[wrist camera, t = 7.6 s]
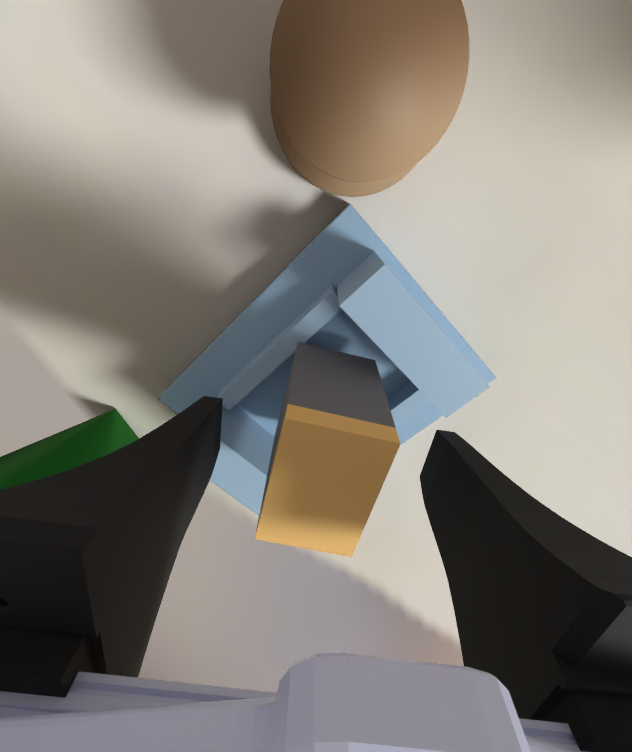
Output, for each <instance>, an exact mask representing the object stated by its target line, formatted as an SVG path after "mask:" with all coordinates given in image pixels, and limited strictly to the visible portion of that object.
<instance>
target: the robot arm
mask: <svg viewBox="0 0 632 752" xmlns="http://www.w3.org/2000/svg"><path fill="white" fill-rule="evenodd" d="M222 404H223V398H216V397H209V396H203V397H202V398H200V399H199V400H197V401H196V402H194V403H193V404H192V405H190V406H189V407H188V408H186V409H185V410H183V411H182V412H180V413H179V414H178V415H176V416H175V417H173V418H172V419H170V420H169V421H167V422H166V423H164V424H163V425H161V426H160V427H158V428H156V429H155V430H153V431H151V432H150V433H148V434H146V435H145V436H143V437H141V438H140V439H138V440H136V441H134V442H132V443H130V444H128V445H126V446H124V447H122V448H120V449H118V450H116V451H114V452H112V453H110V454H107V455H105V456H103V457H100V458H98V459H95V460H93V461H90V462H88V463H85V464H83V465H80V466H78V467H75V468H72V469H70V470H67V471H64V472H61V473H58V474H55V475H52V476H48V477H45V478H42V479H39V480H35V481H32V482H28V483H25V484H21V485H17V486H13V487H9V488H5V489H1V490H0V752H632V557H630V556H628V555H626V554H624V553H622V552H620V551H618V550H616V549H615V548H613V547H611V546H609V545H607V544H606V543H604V542H602V541H600V540H598V539H597V538H595V537H593V536H591V535H590V534H588V533H586V532H585V531H583V530H581V529H580V528H578V527H576V526H575V525H573V524H571V523H570V522H568V521H567V520H565V519H564V518H562V517H561V516H559V515H558V514H556V513H555V512H553V511H552V510H550V509H549V508H547V507H546V506H544V505H543V504H542V503H540V502H539V501H537V500H536V499H535V498H533V497H532V496H531V495H529V494H528V493H527V492H525V491H524V490H523V489H522V488H520V487H519V486H518V485H516V484H515V483H514V482H513V481H511V480H510V479H509V478H508V477H507V476H505V475H504V474H503V473H502V472H501V471H499V470H498V469H497V468H496V467H495V466H494V465H492V464H491V463H490V462H489V461H488V460H487V459H486V458H484V457H483V456H482V455H481V454H480V453H479V452H478V451H476V450H475V449H474V448H473V447H472V446H471V445H470V444H468V443H467V442H466V441H465V440H464V439H463V438H461V437H460V436H459V435H457V434H456V433H455V432H449V431H442V430H437V431H436V433H435V436H434V439H433V442H432V444H431V447H430V450H429V452H428V455H427V458H426V461H425V463H424V466H423V469H422V472H421V474H420V481H421V488H422V494H423V499H424V504H425V508H426V511H427V514H428V517H429V521H430V524H431V527H432V530H433V533H434V536H435V539H436V542H437V545H438V549H439V552H440V555H441V558H442V561H443V564H444V567H445V571H446V575H447V578H448V582H449V587H450V592H451V597H452V601H453V606H454V611H455V616H456V622H457V627H458V633H459V638H460V644H461V650H462V656H463V662H464V666H456V665H447V664H438V663H429V662H420V661H412V660H403V659H394V658H384V657H376V656H367V655H358V654H349V653H326V654H316V655H313V656H310V657H308V658H305V659H303V660H300V661H297V662H296V663H294V664H293V665H292V666H291V667H290V668H289V670H288V671H287V672H286V674H285V675H284V676H283V677H282V679H281V680H280V683H279V687H278V691H277V692H267V691H258V690H248V689H239V688H229V687H219V686H211V685H201V684H192V683H182V682H172V681H164V680H154V679H144V678H138V675H139V672H140V668H141V665H142V662H143V658H144V655H145V652H146V648H147V645H148V642H149V639H150V636H151V632H152V629H153V626H154V622H155V620H156V616H157V613H158V610H159V607H160V604H161V601H162V598H163V594H164V592H165V588H166V586H167V582H168V580H169V576H170V573H171V571H172V567H173V565H174V562H175V559H176V556H177V553H178V550H179V547H180V545H181V542H182V540H183V537H184V535H185V532H186V530H187V528H188V526H189V524H190V522H191V519H192V517H193V515H194V513H195V511H196V509H197V506H198V504H199V502H200V500H201V498H202V496H203V494H204V491H205V489H206V487H207V485H208V483H209V480H210V478H211V476H212V473H213V470H214V467H215V464H216V460H217V457H218V454H219V450H220V441H221V422H222Z"/></svg>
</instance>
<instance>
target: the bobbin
mask: <svg viewBox="0 0 632 752" xmlns="http://www.w3.org/2000/svg"><path fill="white" fill-rule="evenodd" d="M468 63H469V35H468V25H467V20H466V16H465V11H464V7H463V4H462V1H461V0H284V1H283V3H282V6H281V8H280V11H279V14H278V17H277V20H276V24H275V28H274V32H273V36H272V44H271V52H270V76H271V110H272V117H273V123H274V127H275V131H276V134H277V137H278V140H279V142H280V144H281V147H282V149H283V151H284V153H285V154H286V156H287V158H288V160H289V161H290V162H291V164H292V165H293V166H294V168H295V169H296V170H297V171H298V172H299V173H300V174H301V175H302V176H303V177H304V178H305V179H306V180H308V181H309V182H310V183H311V184H313V185H315V186H316V187H318V188H320V189H322V190H324V191H327V192H329V193H332V194H336V195H340V196H349V197H356V196H365V195H370V194H374V193H377V192H379V191H382V190H384V189H386V188H388V187H390V186H392V185H393V184H395V183H396V182H398V181H399V180H401V179H402V178H403V177H404V176H405V175H406V174H408V173H409V172H410V171H411V169H412V168H413V167H414V166H415V165H416V164H417V163H418V162H419V161H420V160H421V159H422V158H423V157H424V156H426V155H427V154H428V153H429V152H430V151H431V149H432V148H433V147H434V146H435V145H436V144H437V143H438V141H439V140H440V139H441V137H442V136H443V134H444V133H445V132H446V130H447V128H448V126H449V125H450V123H451V121H452V119H453V117H454V115H455V113H456V110H457V108H458V106H459V103H460V100H461V97H462V94H463V91H464V87H465V82H466V77H467V72H468Z"/></svg>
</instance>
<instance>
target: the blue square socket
mask: <svg viewBox="0 0 632 752" xmlns="http://www.w3.org/2000/svg"><path fill="white" fill-rule="evenodd" d="M298 342H302V343H306V344H310V345H314V346H318V347H323V348H327V349H331V350H335V351H339V352H343V353H348V354H352V355H356V356H360V357H364V358H369V359H373V360H375V361H376V364H377V368H378V371H379V374H380V377H381V381H382V384H383V387H384V391H385V394H386V397H387V401H388V404H389V407H390V410H391V414H392V417H393V420H394V424H395V427H396V430H397V433H398V437H399V440H400V443H401V444H403V443H404V442H406V441H407V440H408V439H410V438H411V437H413V436H414V435H416V434H417V433H418V432H420V431H421V430H423V429H424V428H425V427H427V426H428V425H430V424H431V423H433V422H434V421H435V420H437V419H438V418H440V417H441V416H443V415H444V416H445V417H448V416H449V415H451V414H452V413H454V412H455V411H456V410H458V409H459V408H461V407H462V406H464V405H465V404H466V403H468V402H469V401H471V400H472V399H474V398H475V397H476V396H478V395H479V394H481V393H482V392H484V391H485V390H486V389H488V388H489V387H490V386H489V385H488V383H489V382H491V381H492V380H494V379H495V378H496V377H495V375H494V374H493V373H492V372H491V371H490V370H489V368H488V367H487V366H486V365H485V364H484V362H483V361H482V360H481V359H480V358H479V356H478V355H477V354H476V353H475V352H474V350H473V349H472V348H471V347H470V346H469V345H468V343H467V342H466V341H465V340H464V339H463V337H462V336H461V335H460V334H459V333H458V331H457V330H456V329H455V328H454V327H453V325H452V324H451V323H450V322H449V321H448V320H447V318H446V317H445V316H444V315H443V314H442V312H441V311H440V310H439V309H438V308H437V306H436V305H435V304H434V303H433V302H432V300H431V299H430V298H429V297H428V296H427V294H426V293H425V292H424V291H423V290H422V289H421V287H420V286H419V285H418V284H417V283H416V281H415V280H414V279H413V278H412V277H411V275H410V274H409V273H408V272H407V271H406V269H405V268H404V267H403V266H402V265H401V264H400V262H399V261H398V260H397V259H396V258H395V256H394V255H393V254H392V253H391V252H390V250H389V249H388V248H387V247H386V246H385V244H384V243H383V242H382V241H381V240H380V239H379V237H378V236H377V235H376V234H375V233H374V231H373V230H372V229H371V228H370V227H369V225H368V224H367V223H366V222H365V221H364V219H363V218H362V217H361V216H360V215H359V213H358V212H357V211H356V210H355V209H354V208H353V206H352V205H351V204H350V203H349V204H348V205H347V206H346V207H345V208H344V209H343V210H342V211H341V212H340V213H339V214H338V215H337V216H336V217H335V218H334V219H333V220H332V221H331V222H330V223H329V224H328V225H327V226H326V227H325V228H324V229H323V230H322V231H321V232H320V233H319V235H318V236H317V237H316V238H315V239H314V240H313V241H312V242H311V243H310V244H309V245H308V246H307V247H306V248H305V249H304V250H303V251H302V252H301V253H300V254H299V255H298V256H297V257H296V258H295V259H294V260H293V261H292V262H291V263H290V264H289V265H288V266H287V267H286V268H285V269H284V270H283V271H282V272H281V273H280V274H279V275H278V276H277V277H276V278H275V279H274V280H273V281H272V282H271V283H270V284H269V285H268V286H267V287H266V288H265V289H264V290H263V291H262V292H261V293H260V294H259V295H258V296H257V297H256V299H255V300H254V301H253V302H252V303H251V304H250V305H249V306H248V307H247V308H246V309H245V310H244V311H243V312H242V313H241V314H240V315H239V316H238V317H237V318H236V319H235V320H234V321H233V322H232V323H231V324H230V325H229V326H228V327H227V328H226V329H225V330H224V331H223V332H222V333H221V334H220V335H219V336H218V337H217V338H216V339H215V340H214V341H213V342H212V343H211V344H210V345H209V346H208V347H207V348H206V349H205V350H204V351H203V352H202V353H201V354H200V355H199V356H198V357H197V358H196V359H195V360H194V361H193V363H192V364H191V365H190V366H189V367H188V368H187V369H186V370H185V371H184V372H183V373H182V374H181V375H180V376H179V377H178V378H177V379H176V380H175V381H174V382H173V383H172V384H171V385H170V386H169V387H168V388H167V389H166V390H165V391H164V392H163V394H162V395H161V396H160V398H159V400H160V401H162V402H163V403H164V404H166V405H167V406H168V407H170V408H171V409H172V410H174V411H175V412H176V413H177V414H179V413H180V412H182V411H183V410H185V409H186V408H188V407H189V406H190V405H192V404H193V403H194V402H196V401H197V400H199V399H200V398H202V397H203V396H209V397H216V398H223V404H222V422H221V441H220V450H219V454H218V457H217V460H216V464H215V467H214V470H213V473H212V476H211V478H210V481H211V482H213V483H214V484H215V485H217V486H218V487H219V488H221V489H222V490H224V491H225V492H226V493H228V494H229V495H231V496H232V497H233V498H235V499H236V500H237V501H239V502H240V503H242V504H243V505H244V506H246V507H247V508H249V509H250V510H251V511H253V512H254V513H255V514H257V515H258V516H259V514H260V509H261V504H262V499H263V494H264V488H265V483H266V478H267V473H268V468H269V462H270V457H271V452H272V447H273V442H274V436H275V432H276V428H277V424H278V420H279V416H280V412H281V408H282V404H283V400H284V396H285V392H286V388H287V384H288V380H289V375H290V371H291V367H292V363H293V359H294V355H295V351H296V347H297V343H298ZM401 444H400V445H401Z"/></svg>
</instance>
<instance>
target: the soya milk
mask: <svg viewBox="0 0 632 752" xmlns="http://www.w3.org/2000/svg"><path fill="white" fill-rule="evenodd" d="M138 439H139V438H138V437H137V436H136V434H135V433H134V432H133V430H132V429H131V428H130V427H129V425H128V424H127V423H126V422H125V420H124V419H123V418H122V416H121V415H120V414H119V413H118V411H117V410H116V409H114V410H112V411H109V412H107V413H104V414H102V415H100V416H97V417H95V418H92V419H90V420H88V421H85V422H83V423H81V424H78V425H76V426H73V427H71V428H69V429H66V430H64V431H61V432H59V433H57V434H54V435H52V436H50V437H47V438H45V439H43V440H40V441H38V442H35V443H33V444H30V445H28V446H26V447H23V448H21V449H19V450H16V451H14V452H12V453H9V454H7V455H4V456H2V457H0V490H1V489H5V488H9V487H13V486H17V485H21V484H25V483H28V482H32V481H35V480H39V479H42V478H45V477H48V476H52V475H55V474H58V473H61V472H64V471H67V470H70V469H72V468H75V467H78V466H80V465H83V464H85V463H88V462H90V461H93V460H95V459H98V458H100V457H103V456H105V455H107V454H110V453H112V452H114V451H116V450H118V449H120V448H122V447H124V446H126V445H128V444H130V443H132V442H134V441H136V440H138ZM191 520H192V519H191Z"/></svg>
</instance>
